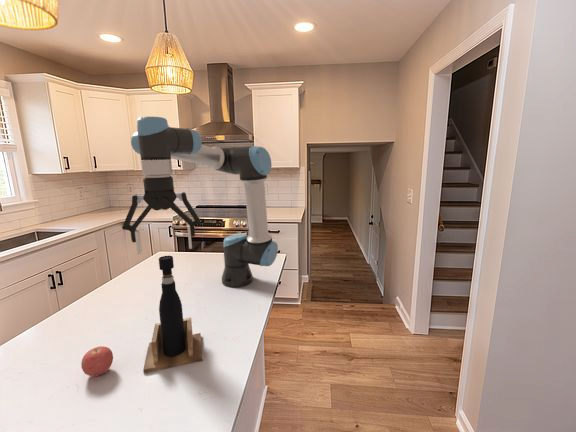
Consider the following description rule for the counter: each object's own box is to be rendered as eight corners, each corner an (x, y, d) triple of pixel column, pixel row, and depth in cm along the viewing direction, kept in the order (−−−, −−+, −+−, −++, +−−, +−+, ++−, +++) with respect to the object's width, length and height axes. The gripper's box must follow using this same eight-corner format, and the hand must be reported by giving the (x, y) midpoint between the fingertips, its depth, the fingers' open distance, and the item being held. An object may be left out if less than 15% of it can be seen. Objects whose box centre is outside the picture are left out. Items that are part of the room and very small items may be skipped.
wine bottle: (178, 358, 86) (169, 261, 81) (159, 355, 87) (148, 260, 82) (189, 345, 92) (181, 254, 87) (171, 343, 94) (162, 253, 88)
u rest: (200, 336, 99) (199, 314, 97) (202, 360, 87) (200, 336, 85) (149, 345, 94) (146, 323, 92) (143, 373, 82) (140, 347, 80)
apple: (110, 379, 80) (106, 353, 78) (79, 385, 78) (75, 359, 76) (117, 361, 87) (114, 337, 85) (89, 366, 85) (85, 342, 83)
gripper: (204, 173, 87) (209, 241, 91) (109, 177, 79) (120, 251, 83) (205, 175, 80) (211, 248, 84) (102, 179, 72) (113, 259, 76)
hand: (165, 250), depth 84 cm, fingers open, 13 cm apart
